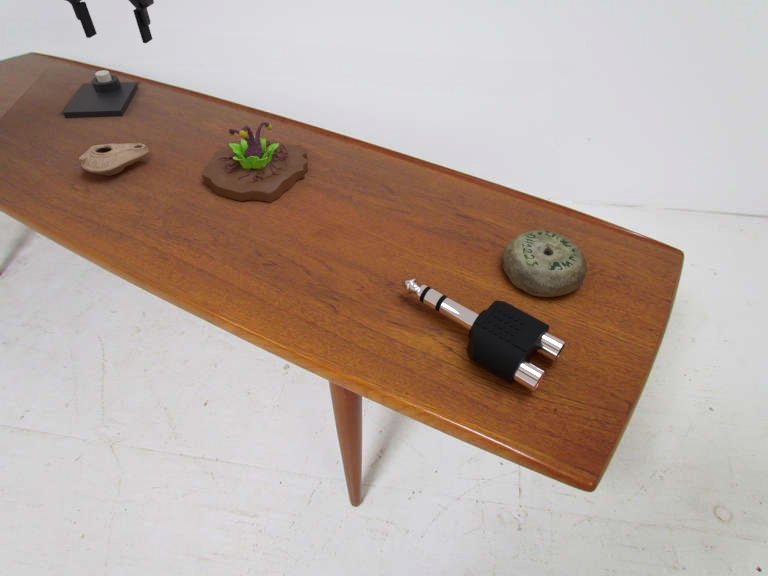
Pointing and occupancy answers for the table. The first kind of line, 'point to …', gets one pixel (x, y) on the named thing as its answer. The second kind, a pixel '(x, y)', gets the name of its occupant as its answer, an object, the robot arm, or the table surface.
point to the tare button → (103, 76)
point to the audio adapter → (497, 335)
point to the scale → (101, 99)
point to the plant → (255, 167)
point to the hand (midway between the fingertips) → (119, 38)
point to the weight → (544, 263)
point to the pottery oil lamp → (112, 157)
